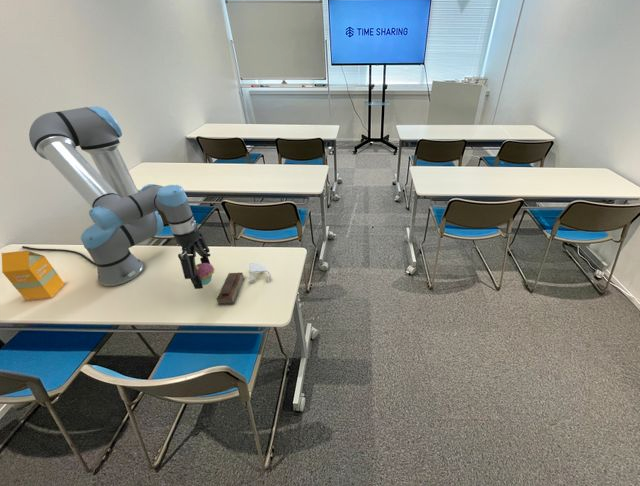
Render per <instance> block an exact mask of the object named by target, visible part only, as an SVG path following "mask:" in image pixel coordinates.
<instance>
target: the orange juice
mask: <svg viewBox="0 0 640 486" xmlns="http://www.w3.org/2000/svg"><path fill="white" fill-rule="evenodd" d="M1 273H2V274H3V275H4V276H5V277H6V279H7V280H8V281H9V283H11V285H12V286H13V288H14V289H16V290H17V292H18V293H19V294H20V296H22V297H23V299H24V300H26V301H33V300H43V299H51V298H53V297H54V296H55V295H56V294H57V293H58V292H59V291H60V290H61V289H62V288H63V287H64V286H65V282H64V280H63V279H62V278H61V277H60V275H59V274H58V272H57V271H56V269H55V268H54V267H53V266H52V264H51V263H50V261H49V260H48V259H47V257H46V256H45V255H43V254H40V253H36V252H33V251H30V250H23V251H21V250H20V251H10V252H1Z"/></svg>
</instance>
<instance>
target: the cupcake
mask: <svg viewBox="0 0 640 486" xmlns="http://www.w3.org/2000/svg"><path fill="white" fill-rule="evenodd" d="M195 266H196V274H198V275H199V278H200V280H201V283H202V285H203V286H206V285H208V284H210V283H211V282H212V280H213V274H214V273H215V268H214V266H213V264H211V263H210V264H209V263H201V262H200V263H197V264H196V263H195Z"/></svg>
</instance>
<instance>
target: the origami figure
mask: <svg viewBox="0 0 640 486" xmlns="http://www.w3.org/2000/svg"><path fill="white" fill-rule="evenodd" d="M248 267H249V270H250V272H249V273H250V274H249V276H248V278H247V280H252V281H251V283H254V282H255V281H256V278H254V277H253V275H254V274H256V273H267V274H268V278H267V282H270V279H271V278H273V276H272V274H271V273H270V271H269V269H267V267H265V266H264V265H263V264H261V263H248Z"/></svg>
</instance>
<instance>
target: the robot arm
mask: <svg viewBox="0 0 640 486" xmlns="http://www.w3.org/2000/svg"><path fill="white" fill-rule="evenodd" d="M28 137H29V142H30V144H31V145H30V146H31V147H32V149H33V151H35V153H36V154H37V155H38V156H39V157H41V159H44V160H46V161H48V162H50V163H51V164H52V166H53V167H54V168H55V169H56V170H57V171H58V172H59V173H60V175H62V177H64V179H65V180H66V181H67V182H68V183H69V184H70V185H71V186H72V187H73V188H74V189H75V191H77V193H78V194H79V195H80V196H81V198H82V199H84V200H85V202H87V204H88V205H89V206H90V207H91V209H89V210H88V215H89V217H90V219H91V220H92V222H93V223H94V224H92V225H90V226H89V227H87V228H86V229H84V230H83V232H82V233H81V234H80V240H81V243H82V244H83V247H84V248H85V249H86V251H87V252H88V254H89V256H90V258H89V257H87V255H85V254H83V253H81V252H80V251H75V250H70V249H63V248H39V247H37V248H36V247H29V246H25V245H22V246H21V248H22V249H27V250H32V251H47V252H48V251H50V252H65V253H72V254H75V255H78V256H80V257H82V258H84V259H85V260H86V261H88V262H89V263H90V264H91V265H93V266H95V267H96V269H97V279H98V281H99V283H100V284H101V285H102V286H104V287H116V286H120V285H124V284H127V283H128V282H131V281H132V280H134V279H135V278H137V277H138V276H140V274H141V273H142V272H143V270H144V264H143V262H142V261H141V260H140V259H139V258H137V257H136V256H135V255H134V254H132V252H131V250H130V248H132V247H134V246H136V245H139V244H140V243H143V242H145V241H147V240H150V239H151V238H154V237H156V236H157V235H159V234H161V233H162V232H163V230H164V222H163V217H162V216H161V214H160V213H159V211H160V212H162V213H163V214H164V216H165V218H166V220H167V224H168V226H169V228H170V231H171V233H172V234H173V238H174V240H175V242H176V244H178V245H179V246H181V253H178V254H177V257H178V259H179V262H180V265H181V269H182V273H183V276H184V280H190V281H191V284H192V285H193V288H194V289H195V290H201V289H202V290H203V289H204V285H202V283H201V280H200V278H199V275H198V274H196V266H195V264H196V257H197V254H198V256H200V258H199V260H200V263H209V264H211V262H210V259H209V257H211V253H210V251H211V250H210V248H209V246H208V244H207V243H206V240H205V239H204V236H203V233H202V232H200V231H199V228H198V226H197V223H196V220H195V217H194V214H193V211H192V209H191V206H190V203H189V200H188V199H189V198H188V196H187V194H186V192H185V190H184V188H183V187H182V185H180V184H168V185H164V186H163V185H159V184H155V183H149V184H145V185H144V186H142V187H141V188H140V190H138V188H137V185H136V184H135V182H134V180H133V178H132V175H131V173H130V170H129V169H128V167H127V165H126V162H125V161H124V159H123V156H122V154H121V153H120V150H119V146H120V144H121V141H120V139H119V138H121V137H123V132H122V129H121V126H120V124H119V123H118V122H117V120H116V119H115V117H114V116H113V115H112V114H111V113H110V112H109V111H108V110H107V109H106V108H104V107H102V106H84V107H77V108H72V109H65V110H59V111H49V112H46V113H44V114H41V115H39V116H38V117H37V118H35V120H34V121H33V122H32V124H31V125H30V128H29V132H28ZM77 147H79V148H80V150H82V152H84V153H86V154H89V155H90V157H91V159H92V161H93V163H94V165H95V167H96V169H97V170H98V171H97V170H96V169H95V168H94V167H93V166H92V165H91V164H90V162H88V161H87V160H86V158H85V157H84V156H83V155H82V154H81V153H80V152H79V151H78V150H77Z"/></svg>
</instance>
